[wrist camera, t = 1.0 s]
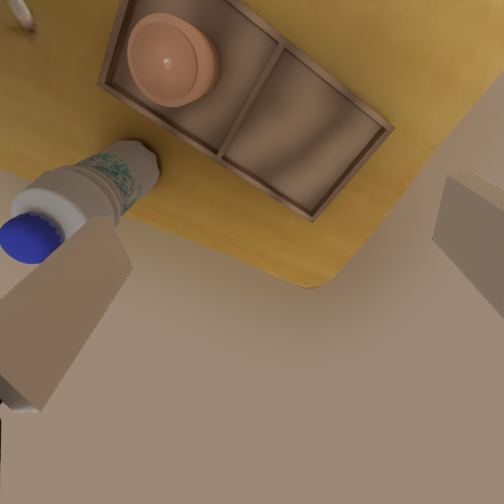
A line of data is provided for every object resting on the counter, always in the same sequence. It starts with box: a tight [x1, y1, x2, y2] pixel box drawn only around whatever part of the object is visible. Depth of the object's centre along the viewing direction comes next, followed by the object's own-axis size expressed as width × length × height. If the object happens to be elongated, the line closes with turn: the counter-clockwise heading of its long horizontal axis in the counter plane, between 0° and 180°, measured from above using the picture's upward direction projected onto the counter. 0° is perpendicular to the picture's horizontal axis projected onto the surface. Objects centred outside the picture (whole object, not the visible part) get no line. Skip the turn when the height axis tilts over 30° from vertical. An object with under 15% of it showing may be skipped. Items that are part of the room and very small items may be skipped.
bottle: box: [0, 140, 160, 264], centre depth 27 cm, size 7×7×20 cm
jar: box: [127, 13, 221, 107], centre depth 25 cm, size 6×6×9 cm
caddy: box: [97, 0, 395, 223], centre depth 30 cm, size 28×13×2 cm, turn 57°
